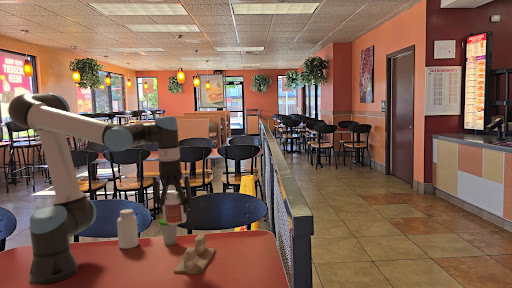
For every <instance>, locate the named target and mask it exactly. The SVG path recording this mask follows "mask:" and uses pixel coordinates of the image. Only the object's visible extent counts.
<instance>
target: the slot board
mask: <svg viewBox="0 0 512 288" xmlns="http://www.w3.org/2000/svg"><path fill="white" fill-rule="evenodd" d="M206 237H207V235H206V233H199V234H198V235H197V236H196V237H195V238H194V246H193V247H191V246H189V247H187V248H186V251H184V253H182V254H183V255H182V256H183V257H182V259H181V260H180V262H179V263H178V264H177V266H176V267H175V268H174V269H173V274H187V275H189V274H191V275H193V274H194V275H202V274H203V273H204V271H205V269H206V268H207V266H208V264H209V262H210V260H211V259H212V257H213V256H214V254H215V252H216V248H215V247H212V248H211V247H207V238H206Z"/></svg>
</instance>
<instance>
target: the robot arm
mask: <svg viewBox="0 0 512 288" xmlns="http://www.w3.org/2000/svg"><path fill="white" fill-rule="evenodd" d="M7 111H8V116H9V118H10V120H11V121H12V122H13V123H14V124H16V125H17V126H19V127H23V128H27V129H30V130H33V133H34V134H36V135H37V136H39V139H40V142H41V146H42V151H43V154H44V157H45V160H46V165H47V168H48V172H49V176H50V179H51V183H52V187H53V190H54V191H53V192H54V195H55V199H54V201H53V203H52V204H53V205H51V206H47V207H43V208H41V209H38V210H36V211H34V212H33V213H32V214H31V215H30V217H29V227H28V228H29V232H30V233H29V234H30V240H31V241H30V242H31V247H32V255H33V257H32V261H31V265H30V269H29V270H30V271H29V281H30V282H31V283H33V284H36V285H49V284H54V283H59V282H61V281H64V280H67V279H69V278H71V277H72V276H74V275H75V274H76V273H77V272H78V262H77V261H76V259H75V257H74V254H73V252H72V250H71V244H70V238H71V237H73V236H75V235H77V234H79V233H80V232H83V231H85V230H86V229H87V228H89V227H90V226H91V225H92V224H93V223H94V222H95V220H96V217H97V208H96V205H95V203H94V202H93V201H91V200H90V199H89V198H87V195H86V193H84V192H83V191H81V188H80V185H79V181H78V177H77V173H76V169H75V166H74V162H73V158H72V154H71V150H70V147H69V143H68V140H67V139H68V138H67V136H69V137H73V138H77V139H80V140H85V141H88V142H92V143H96V144H100V145H103V146H105V147H106V148H108V150H110V151H113V152H123V151H125V150H127V149H131V148H135V147H137V146H142V145H147V144H148V145H150V144H153V145H154V144H155V145H156V144H157V145H156V146H157V153H158V154H157V155H158V160H159V162H158V165H159V175H155V176H153V177H152V182H153V195H154V198H153V199H154V201H153V202H154V204H155V205H159V207H160V214H162V215H163V217H162V219H163V218H164V223H167V222H166V212H165V200H166V199H167V198H166V193H168V190H169V186H174V188H175V189H176V192H178V194H179V198H180V199H181V202H182V205H181V216H182V223H181V224H184V223H186V221H187V213H188V212H189V206H188V205H189V204H190V203H191V202H193V195H192V189H191V180H190V179H191V175H190V174H184V173H183V172H182V163H181V159H180V158H181V153H180V144H179V143H180V142H179V128H178V122H177V121H178V120H177V118H176V116H174V115H166V116H164V115H163V116H157V117H155V119H154V122H151V123H150V122H146V123H145V122H140V123H139V122H138V123H135V122H133V123H127V124H125V125H120V124H116V123H111V122H108V121H104V120H100V119H97V118H92V117H88V116H84V115H81V114H76V113H73V112H71V108H70V105H69V104H68V101H67V100H66V99H65V98H64V97H62V96H61V95H59V94H56V93H48V92H45V93H23V94H18V95H17V96H15V97H14V98H13V99H12V100H11V101H10V103H9V105H8V109H7ZM181 180H183V185H184V189H183V186H182V183H181ZM161 182H163V183H162V188H161Z"/></svg>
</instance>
